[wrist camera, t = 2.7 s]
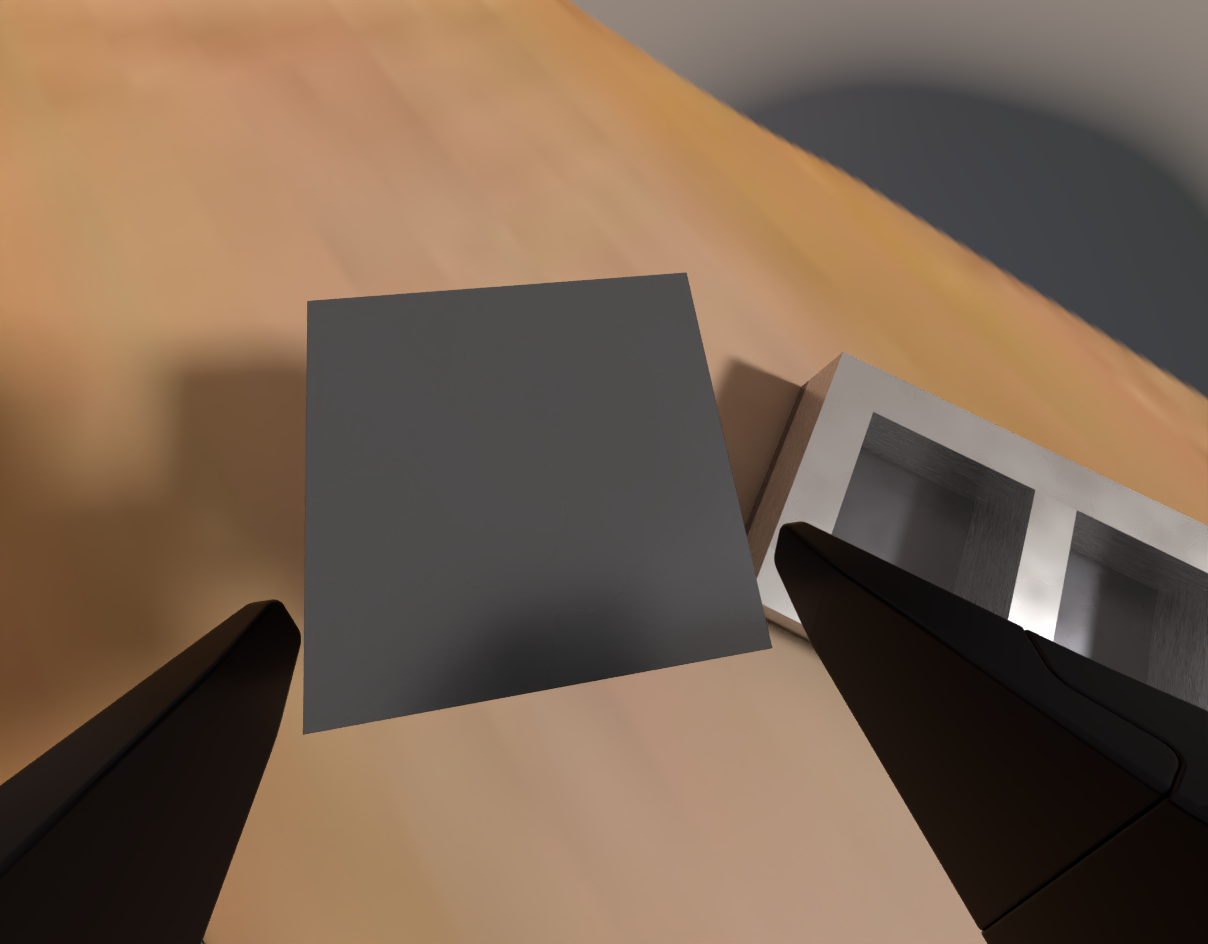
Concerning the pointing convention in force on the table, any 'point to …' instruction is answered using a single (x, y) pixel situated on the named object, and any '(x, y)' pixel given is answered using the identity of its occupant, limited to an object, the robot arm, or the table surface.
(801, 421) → the silver compartment tray
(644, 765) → the table surface
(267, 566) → the table surface
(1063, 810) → the robot arm
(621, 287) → the steel square peg
